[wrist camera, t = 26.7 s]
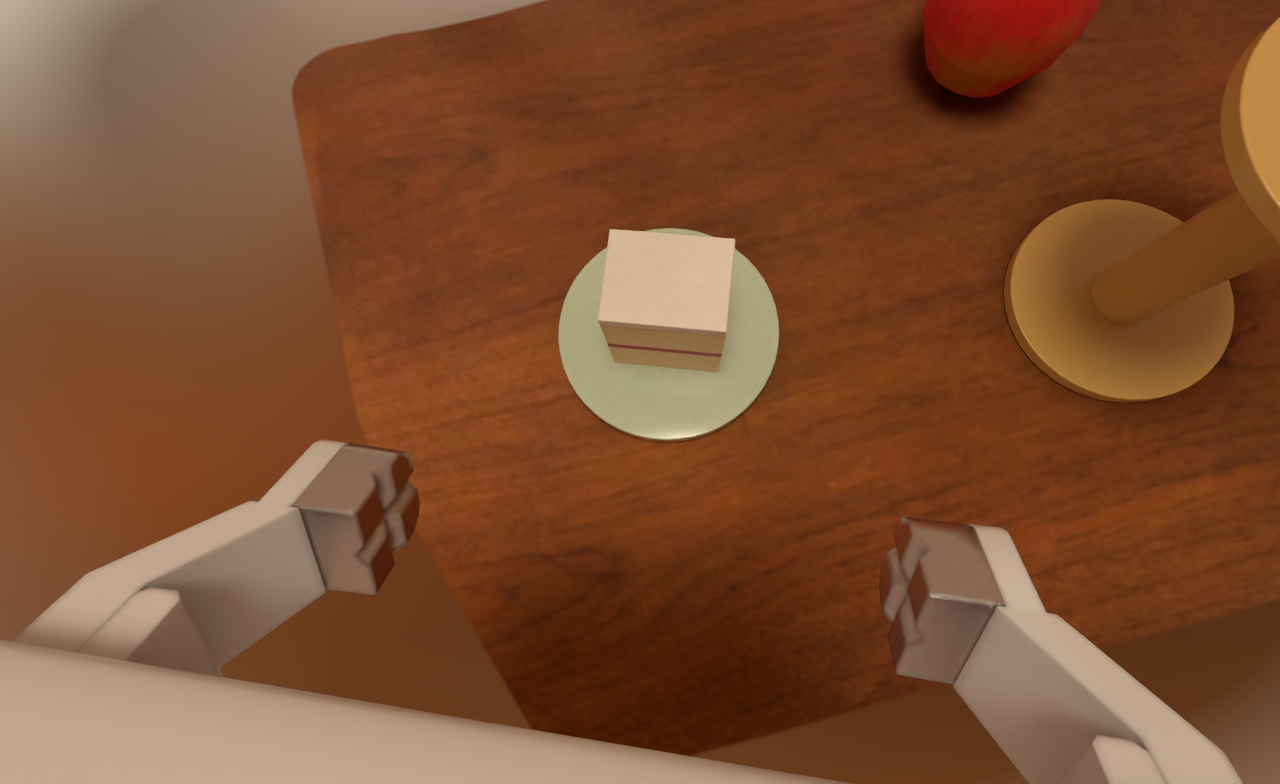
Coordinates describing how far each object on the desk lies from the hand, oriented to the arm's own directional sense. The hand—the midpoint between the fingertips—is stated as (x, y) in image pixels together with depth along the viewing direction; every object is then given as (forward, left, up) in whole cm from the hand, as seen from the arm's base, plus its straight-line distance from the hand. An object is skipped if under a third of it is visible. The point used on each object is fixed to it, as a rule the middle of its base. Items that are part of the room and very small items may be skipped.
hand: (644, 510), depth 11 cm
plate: (+11, +4, -29) cm, 32 cm away
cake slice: (+11, +4, -28) cm, 31 cm away
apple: (+35, -10, -30) cm, 47 cm away
